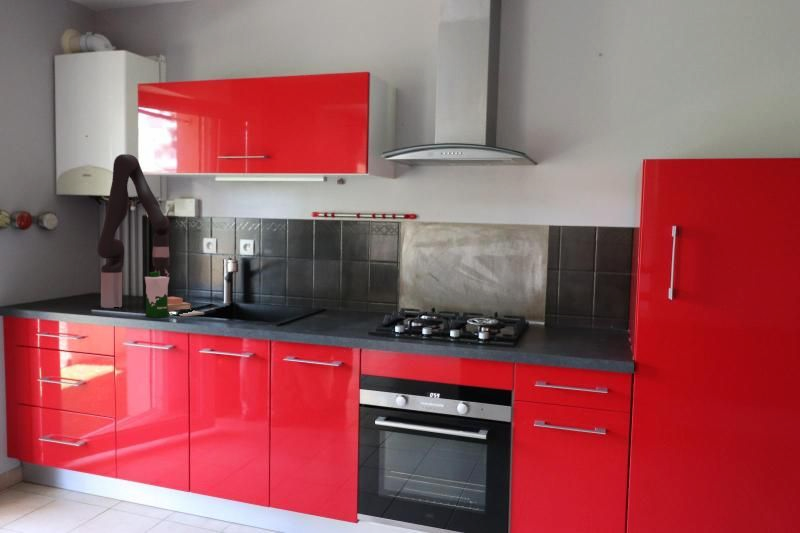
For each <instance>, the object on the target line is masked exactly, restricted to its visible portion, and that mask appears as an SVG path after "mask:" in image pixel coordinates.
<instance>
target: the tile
mask: <svg viewBox="0 0 800 533" xmlns="http://www.w3.org/2000/svg"><path fill="white" fill-rule="evenodd" d="M183 300H184V299H183V297H178V296H168V304H182V303H183V302H184V301H183Z"/></svg>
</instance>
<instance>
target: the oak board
mask: <svg viewBox="0 0 800 533" xmlns="http://www.w3.org/2000/svg"><path fill="white" fill-rule="evenodd" d="M180 309H190V310H191V303H190V302H184V301H183V303H182V304H168V313H169V312H170V311H174V310H180Z"/></svg>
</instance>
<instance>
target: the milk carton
mask: <svg viewBox="0 0 800 533" xmlns="http://www.w3.org/2000/svg"><path fill="white" fill-rule="evenodd" d="M144 280H145V281H144V282H145V317H148V318H153V319H157V318H159V319H160V318H165V317H166V318H167V317H169V314H168V297H169V296H168V295H169V292H168V289H169V287H168V286H169V282H170V277H162V276H159V272H154V271H150V272H149V276H144Z"/></svg>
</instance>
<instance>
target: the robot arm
mask: <svg viewBox="0 0 800 533" xmlns="http://www.w3.org/2000/svg"><path fill="white" fill-rule="evenodd" d="M112 167H113V169H112V180H111V181H112V182H111V186H110V191H109V197H108V200H107V206H106V213H105V218H104V222H103V226H102V229H101V230H102V231H101V234H100V237H99V241H98V243H97V254H98V256H99V257H100V258H102V259H107V262H106V263H105V264H104V265H102V266H101V268H100V270H101V271H100V272H101V274H100V276H101V278H100V280H101V282H100V283H101V285H100V286H101V288H100V307H101V308H104V309H115V308H114V307H119V308H121V307H123V302H122V300H123V278H122V277H123V275H122V274H123V267H124V264H125V260H124V259H125V246H124V243H123V242H122V241H121V239H117V238H116V239H115V236H116V233H117V231H118V229H119V227H121V225H122V224H123V222H124V221H125V219H126V217H127V215H128V210H129V206H130V205H129V204H130V197H129V190H128V186H129V185H128V183H129V179H131V181H132V183H133V185H134V187H135V191H136V195H137V198H138V201H139V202H140V203H141V206H142V207H143V209H144V210H145V213H146V216H147V217H148V220H149V221H150V223H151V224H150V225H152V227H153V228H154V235H153V238H152V244H153V245H152V265H153V267H155V268H154V271H153V272H159V276H162V277H169V278H171V272H168V266H170V250H169V249H170V248H169V245H170V244H169V235H170V234H169V233H170V228H171V227H170V226H171V225H170V224H171V223H170V219H169V218H168V216H166V215H164V214H163V212H162V210H161V209H160V207H161V206H160V204H159V202H158V200H157V198H156V196H155V195H154V193H153V191H152V190H151V188H150V186H149V184H148V182H147V179H146V178H145V175H144V172H143V170H142V167H141V164H140V162H139V160H138V158H137V157H136V156H134V155H133V154H126V153H124V154H123V153H122V154H119V155H118V156H116V157H115V158H114V161H113V166H112Z"/></svg>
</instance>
